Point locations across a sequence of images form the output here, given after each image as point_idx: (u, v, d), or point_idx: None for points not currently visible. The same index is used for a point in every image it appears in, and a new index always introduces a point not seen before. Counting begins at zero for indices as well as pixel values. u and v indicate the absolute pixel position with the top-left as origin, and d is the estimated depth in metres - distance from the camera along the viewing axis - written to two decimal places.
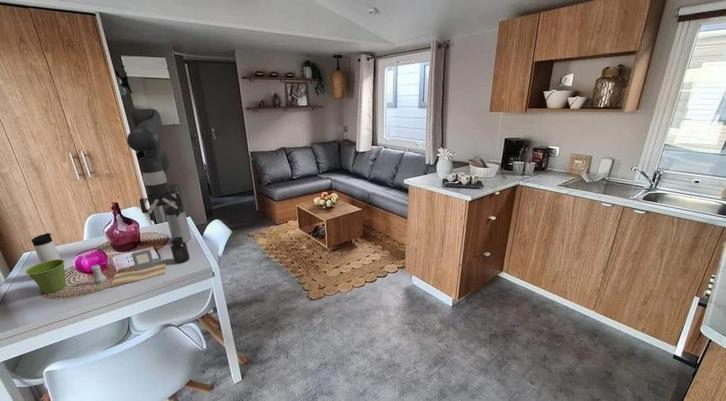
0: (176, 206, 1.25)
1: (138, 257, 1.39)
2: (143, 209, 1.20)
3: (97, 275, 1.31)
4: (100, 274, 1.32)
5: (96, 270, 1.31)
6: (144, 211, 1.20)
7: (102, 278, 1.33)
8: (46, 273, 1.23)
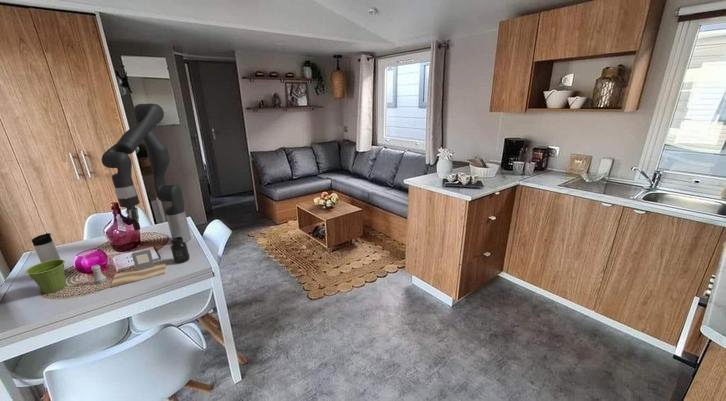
0: None
1: (138, 257, 1.39)
2: (136, 220, 1.38)
3: (97, 275, 1.31)
4: (100, 274, 1.32)
5: (96, 270, 1.31)
6: (137, 220, 1.39)
7: (102, 278, 1.33)
8: (46, 273, 1.23)
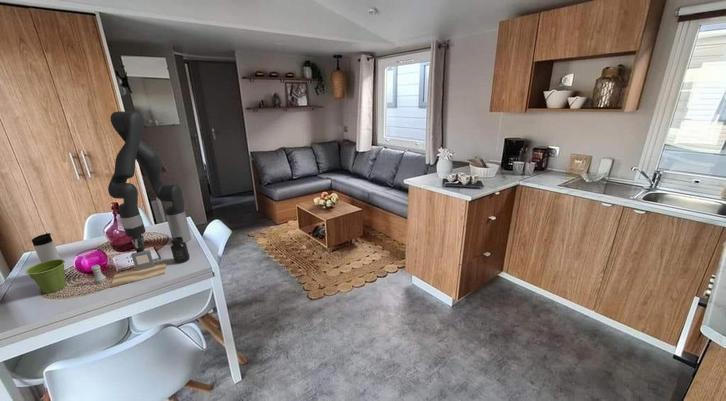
0: None
1: (138, 258, 1.38)
2: (142, 248, 1.39)
3: (97, 275, 1.31)
4: (100, 274, 1.32)
5: (96, 270, 1.31)
6: (142, 249, 1.40)
7: (102, 278, 1.33)
8: (46, 273, 1.23)
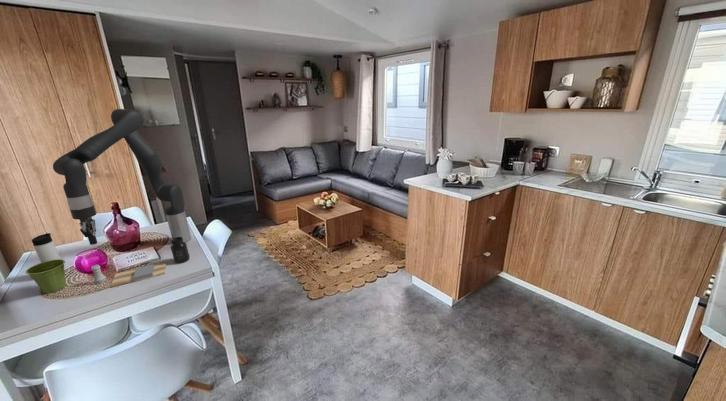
0: None
1: None
2: (91, 233, 1.25)
3: (97, 275, 1.31)
4: (100, 274, 1.32)
5: (96, 270, 1.31)
6: (92, 234, 1.26)
7: (102, 278, 1.33)
8: (46, 273, 1.23)
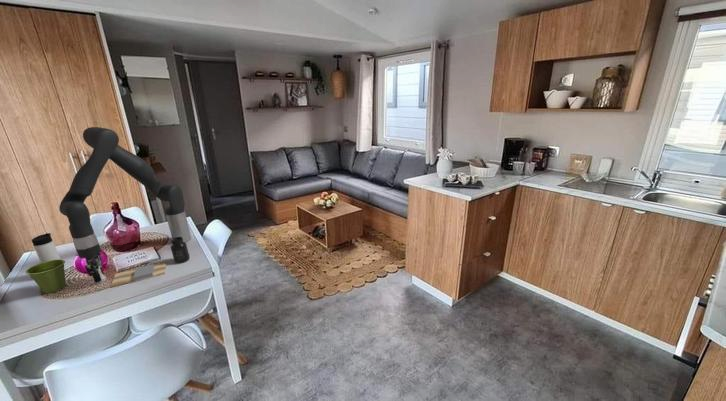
0: (101, 265, 1.35)
1: None
2: (96, 271, 1.28)
3: None
4: (100, 274, 1.32)
5: None
6: (97, 272, 1.28)
7: (102, 278, 1.33)
8: (46, 273, 1.23)
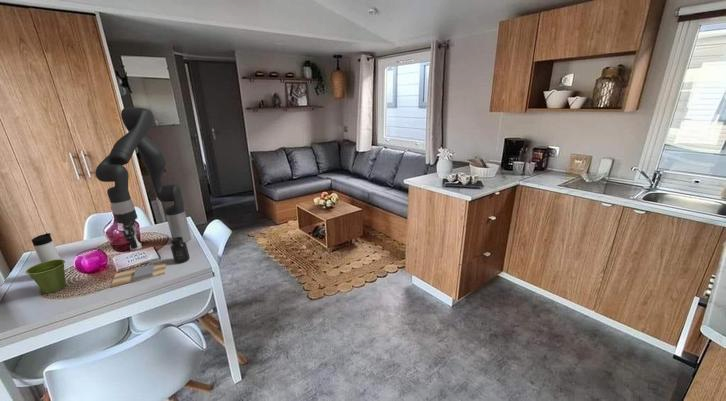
0: (136, 232, 1.35)
1: None
2: (133, 237, 1.28)
3: None
4: (136, 241, 1.32)
5: None
6: (133, 238, 1.28)
7: (138, 245, 1.33)
8: (46, 273, 1.23)
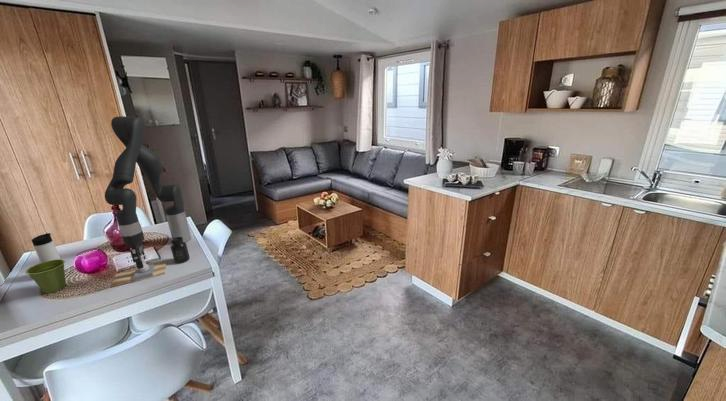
0: None
1: None
2: (139, 257, 1.30)
3: None
4: (144, 263, 1.36)
5: None
6: (140, 259, 1.30)
7: (145, 267, 1.36)
8: (46, 273, 1.23)
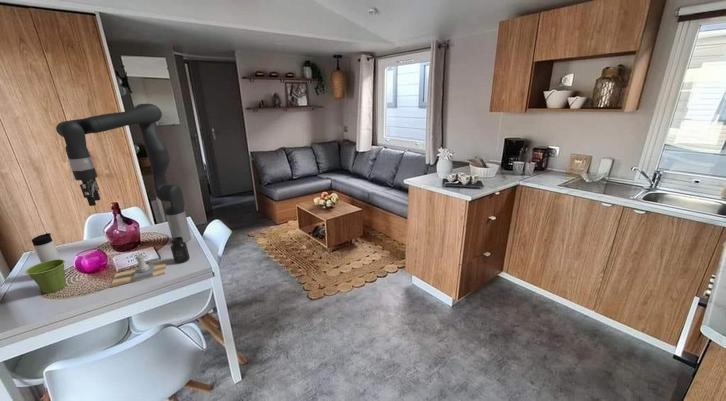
0: (97, 189, 1.39)
1: None
2: (90, 193, 1.29)
3: (141, 264, 1.35)
4: (144, 263, 1.36)
5: (140, 259, 1.35)
6: (91, 195, 1.29)
7: (145, 267, 1.36)
8: (46, 273, 1.23)
